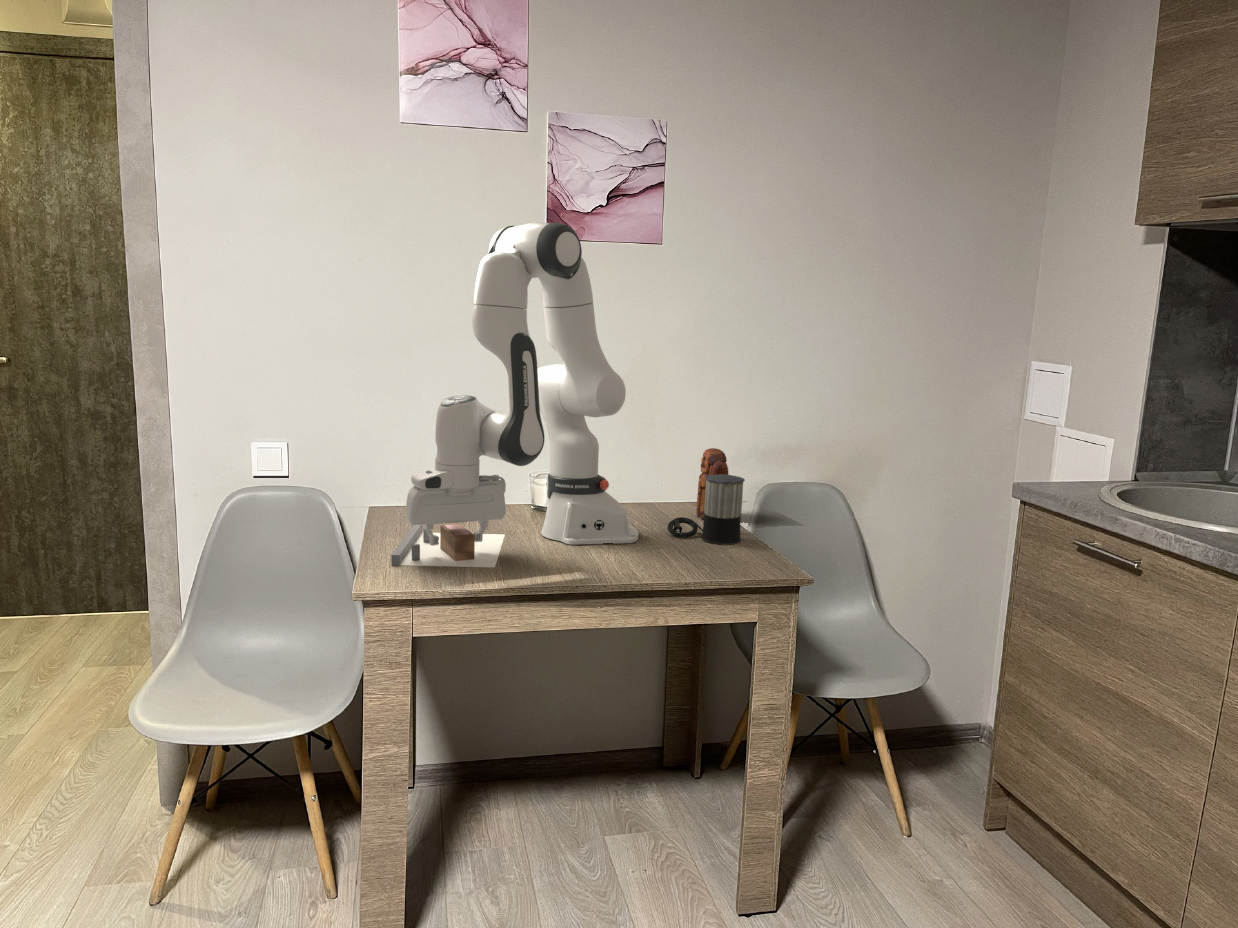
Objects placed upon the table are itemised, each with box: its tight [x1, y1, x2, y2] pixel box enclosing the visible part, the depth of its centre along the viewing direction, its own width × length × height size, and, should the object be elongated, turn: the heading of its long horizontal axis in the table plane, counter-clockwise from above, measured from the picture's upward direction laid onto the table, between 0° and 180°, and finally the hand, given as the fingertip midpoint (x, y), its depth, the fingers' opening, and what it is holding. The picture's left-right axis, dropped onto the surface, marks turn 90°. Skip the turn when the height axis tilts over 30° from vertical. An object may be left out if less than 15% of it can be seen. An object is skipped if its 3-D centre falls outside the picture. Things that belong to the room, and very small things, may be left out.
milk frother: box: [666, 474, 746, 545], centre depth 209 cm, size 14×16×15 cm
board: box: [390, 525, 506, 568], centre depth 188 cm, size 20×26×4 cm
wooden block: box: [439, 523, 475, 561], centre depth 184 cm, size 4×10×5 cm, turn 28°
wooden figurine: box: [695, 447, 729, 521], centre depth 230 cm, size 12×6×18 cm, turn 14°
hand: (456, 543), depth 184 cm, fingers open, 8 cm apart
